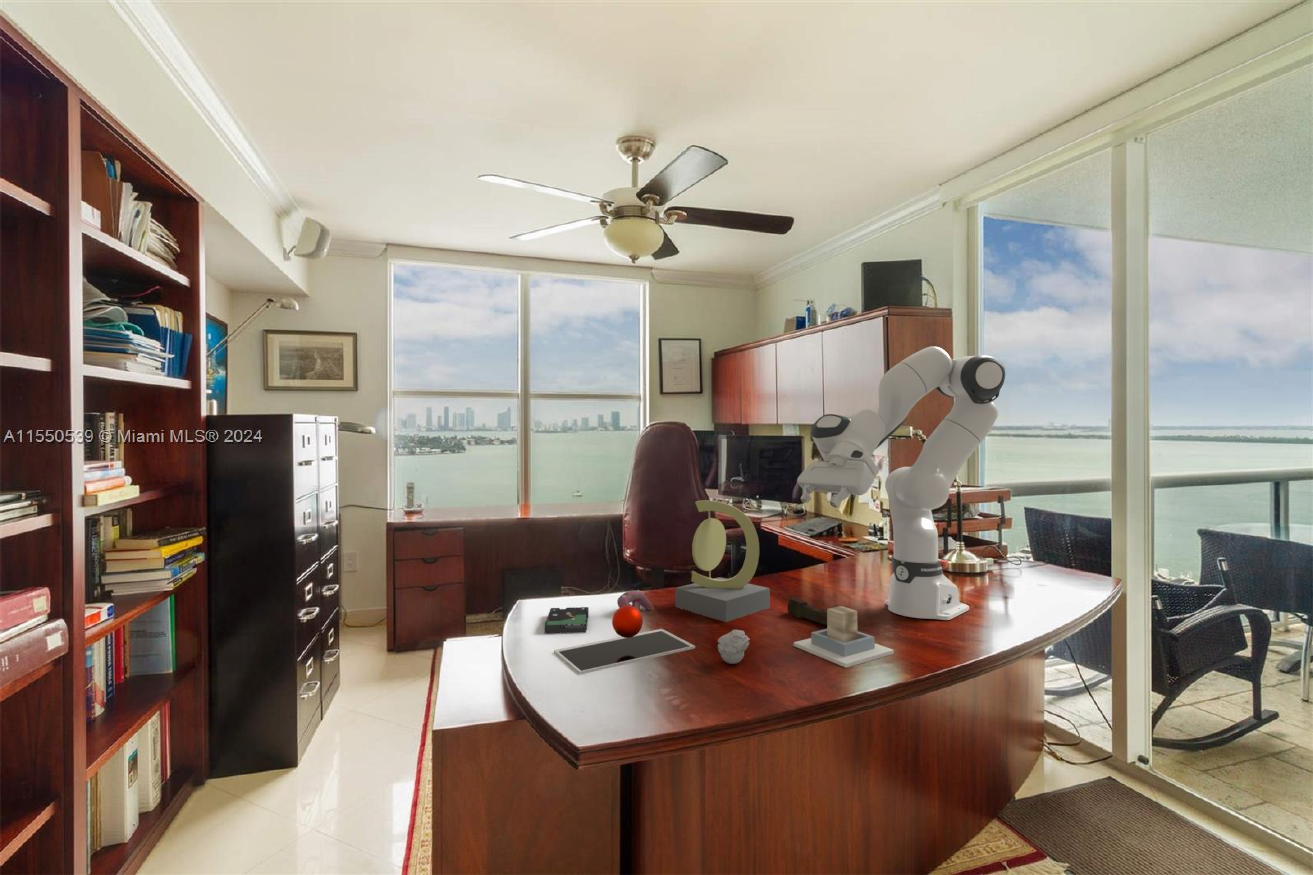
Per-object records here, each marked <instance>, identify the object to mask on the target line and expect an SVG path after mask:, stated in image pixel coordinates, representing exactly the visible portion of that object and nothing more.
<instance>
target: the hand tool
mask: <svg viewBox="0 0 1313 875" xmlns="http://www.w3.org/2000/svg"><path fill="white" fill-rule="evenodd" d="M787 613H788V614H790V615H791V614H792V615H791V616H793V617H795V618H797V619H799V618H805V620H809V621H812V622H815V623H818V624H820V625H823V626H826V627H827V610H823V609H820V608H816V607H814V606H811V605H809V604H808V602H807V601H804V600H801V599H799V598H794V597H792V598H790V599H789V600H788V602H787Z"/></svg>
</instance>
